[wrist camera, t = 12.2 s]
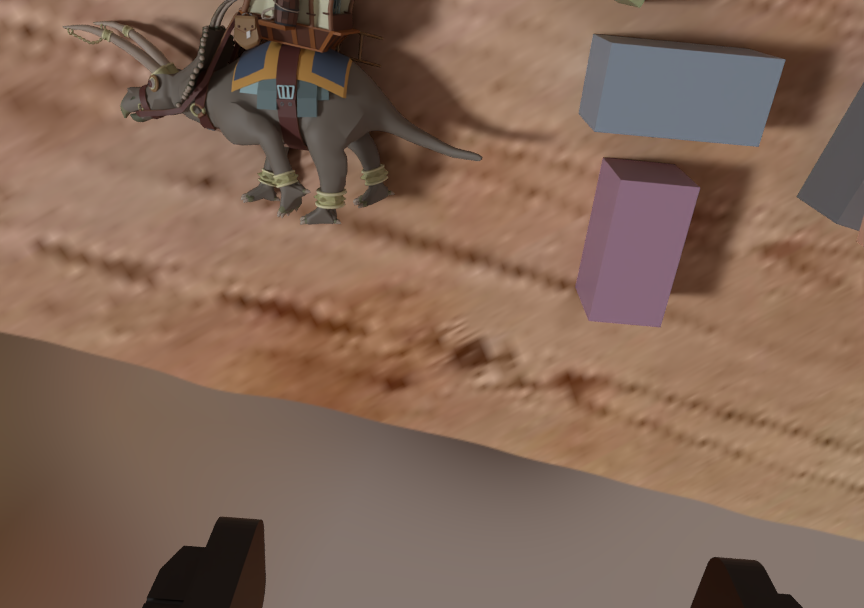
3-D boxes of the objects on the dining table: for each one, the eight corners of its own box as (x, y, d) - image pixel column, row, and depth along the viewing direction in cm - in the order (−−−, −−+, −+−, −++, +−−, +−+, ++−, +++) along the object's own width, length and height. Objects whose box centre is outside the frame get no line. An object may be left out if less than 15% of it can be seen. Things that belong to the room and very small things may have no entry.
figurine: (82, 222, 34) (-10, -185, 26) (139, 187, 39) (75, -159, 32) (478, 240, 33) (500, -182, 25) (480, 202, 38) (498, -155, 30)
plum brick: (602, 156, 37) (620, 179, 33) (673, 163, 37) (700, 187, 33) (575, 286, 41) (588, 320, 37) (640, 292, 41) (660, 327, 37)
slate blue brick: (578, 113, 36) (594, 131, 32) (592, 33, 34) (611, 42, 30) (724, 126, 36) (758, 146, 32) (746, 48, 34) (785, 59, 30)
